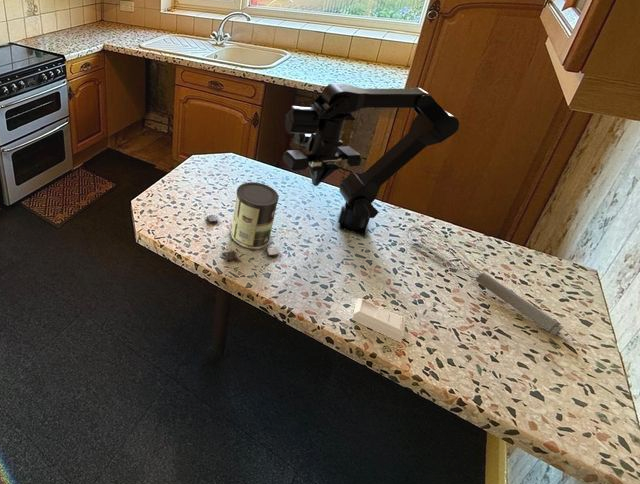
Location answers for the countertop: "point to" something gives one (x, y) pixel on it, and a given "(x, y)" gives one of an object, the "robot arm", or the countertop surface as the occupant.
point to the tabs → (231, 255)
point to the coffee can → (254, 215)
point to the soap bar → (379, 319)
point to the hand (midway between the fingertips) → (314, 185)
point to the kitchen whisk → (503, 292)
